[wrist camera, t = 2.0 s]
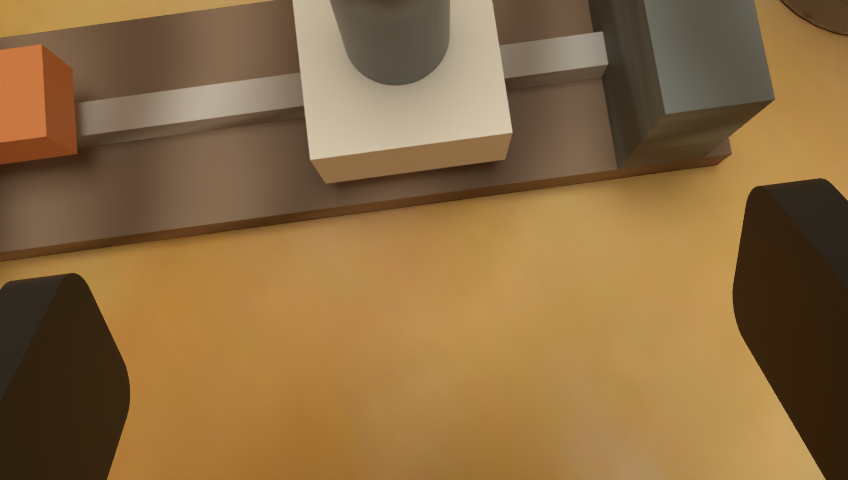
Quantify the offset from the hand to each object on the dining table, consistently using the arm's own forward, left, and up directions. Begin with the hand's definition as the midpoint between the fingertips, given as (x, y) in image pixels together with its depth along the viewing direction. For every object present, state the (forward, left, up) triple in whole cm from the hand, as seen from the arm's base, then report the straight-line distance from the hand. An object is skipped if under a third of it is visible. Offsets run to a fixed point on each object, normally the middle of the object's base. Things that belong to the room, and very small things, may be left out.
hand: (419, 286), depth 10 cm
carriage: (0, +9, -15) cm, 18 cm away
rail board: (-4, +9, -18) cm, 21 cm away
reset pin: (-14, +9, -15) cm, 22 cm away
